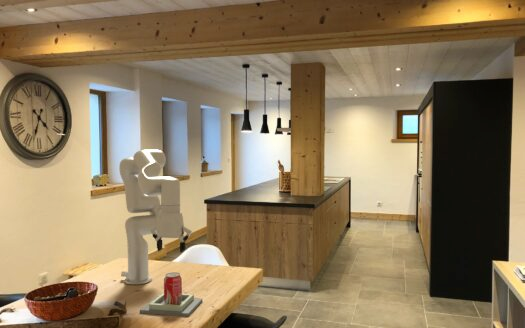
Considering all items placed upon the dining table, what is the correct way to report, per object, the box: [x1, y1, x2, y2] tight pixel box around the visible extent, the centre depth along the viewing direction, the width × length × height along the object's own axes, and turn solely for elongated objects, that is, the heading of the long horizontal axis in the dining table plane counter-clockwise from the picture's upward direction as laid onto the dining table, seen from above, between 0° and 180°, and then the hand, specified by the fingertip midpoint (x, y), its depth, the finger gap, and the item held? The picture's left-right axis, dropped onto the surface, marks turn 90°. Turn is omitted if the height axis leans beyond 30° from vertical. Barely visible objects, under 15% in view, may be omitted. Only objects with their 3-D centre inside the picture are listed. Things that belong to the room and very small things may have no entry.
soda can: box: [163, 271, 183, 305], centre depth 166 cm, size 7×7×12 cm
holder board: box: [139, 292, 203, 317], centre depth 166 cm, size 20×16×3 cm
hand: (171, 250), depth 167 cm, fingers open, 9 cm apart
